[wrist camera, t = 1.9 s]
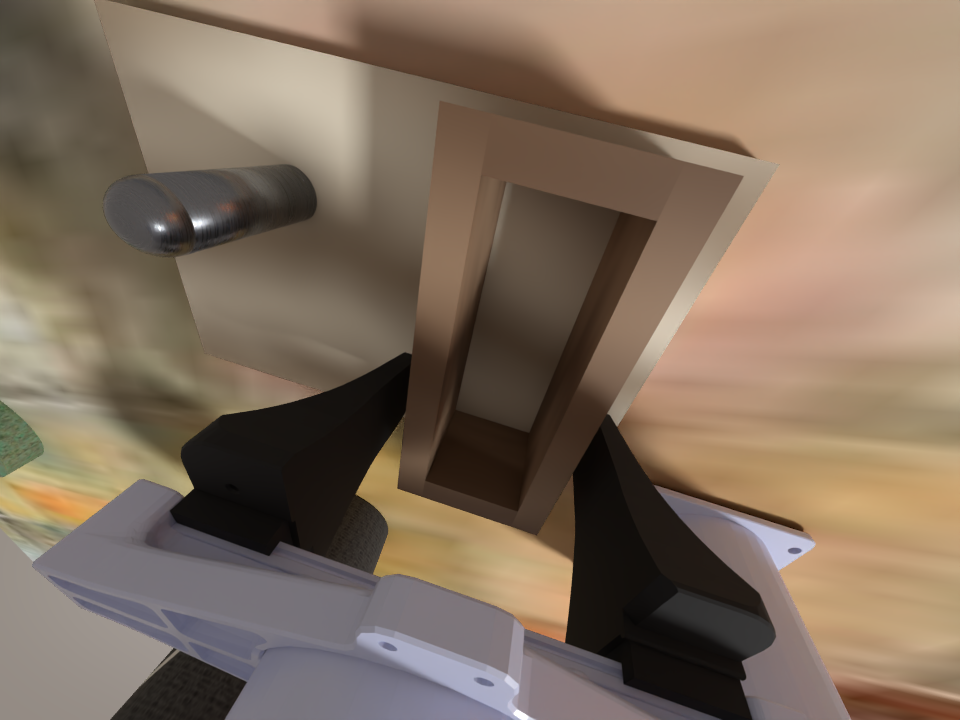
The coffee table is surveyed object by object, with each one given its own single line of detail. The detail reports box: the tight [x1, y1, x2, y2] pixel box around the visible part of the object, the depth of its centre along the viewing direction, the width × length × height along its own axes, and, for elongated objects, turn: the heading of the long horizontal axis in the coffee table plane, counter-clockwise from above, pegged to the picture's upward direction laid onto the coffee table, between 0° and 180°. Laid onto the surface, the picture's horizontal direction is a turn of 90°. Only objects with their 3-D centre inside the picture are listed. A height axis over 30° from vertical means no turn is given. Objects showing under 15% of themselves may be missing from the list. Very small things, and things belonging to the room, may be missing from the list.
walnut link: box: [397, 101, 744, 535], centre depth 11 cm, size 12×6×4 cm, turn 168°
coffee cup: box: [111, 496, 388, 720], centre depth 19 cm, size 10×10×15 cm
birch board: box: [94, 0, 780, 433], centre depth 13 cm, size 13×20×1 cm, turn 78°
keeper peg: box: [103, 164, 317, 258], centre depth 10 cm, size 2×2×6 cm
